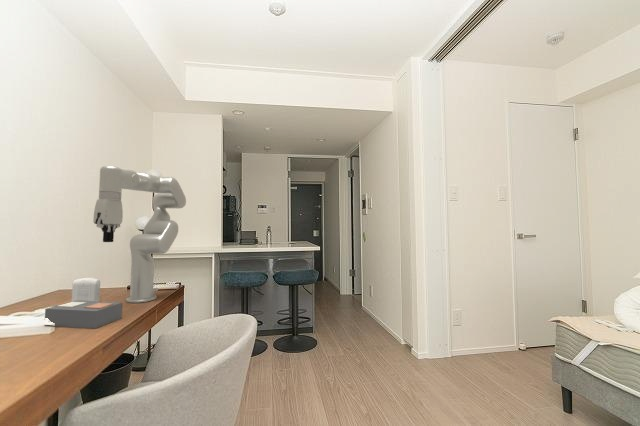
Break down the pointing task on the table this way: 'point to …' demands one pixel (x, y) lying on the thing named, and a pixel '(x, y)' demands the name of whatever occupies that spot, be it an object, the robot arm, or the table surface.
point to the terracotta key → (99, 305)
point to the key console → (84, 315)
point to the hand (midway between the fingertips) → (108, 241)
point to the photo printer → (86, 289)
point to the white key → (72, 304)
